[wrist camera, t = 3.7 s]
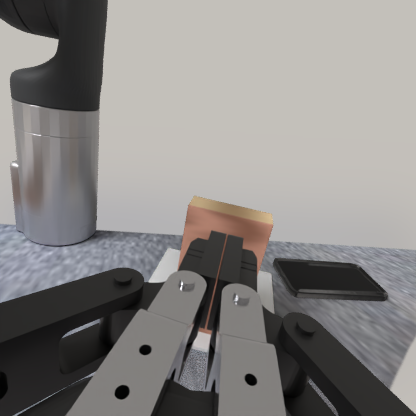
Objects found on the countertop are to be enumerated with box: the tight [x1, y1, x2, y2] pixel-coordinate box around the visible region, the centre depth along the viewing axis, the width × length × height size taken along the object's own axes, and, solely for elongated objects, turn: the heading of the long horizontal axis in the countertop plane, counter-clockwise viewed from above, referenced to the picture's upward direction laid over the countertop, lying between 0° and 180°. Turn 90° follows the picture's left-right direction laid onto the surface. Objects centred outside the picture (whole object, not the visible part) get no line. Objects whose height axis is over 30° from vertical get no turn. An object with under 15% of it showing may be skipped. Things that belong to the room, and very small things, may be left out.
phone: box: [273, 258, 388, 301], centre depth 41 cm, size 8×1×15 cm
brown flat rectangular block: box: [177, 196, 273, 335], centre depth 26 cm, size 7×2×13 cm, turn 81°
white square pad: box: [149, 248, 274, 353], centre depth 33 cm, size 15×15×1 cm
